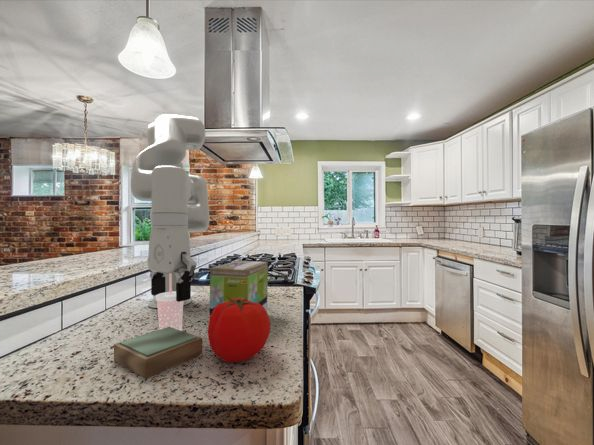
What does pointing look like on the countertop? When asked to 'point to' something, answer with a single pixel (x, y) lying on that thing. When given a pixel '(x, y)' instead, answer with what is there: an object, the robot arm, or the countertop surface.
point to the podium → (157, 351)
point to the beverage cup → (169, 309)
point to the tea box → (239, 282)
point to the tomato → (238, 329)
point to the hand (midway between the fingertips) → (170, 297)
